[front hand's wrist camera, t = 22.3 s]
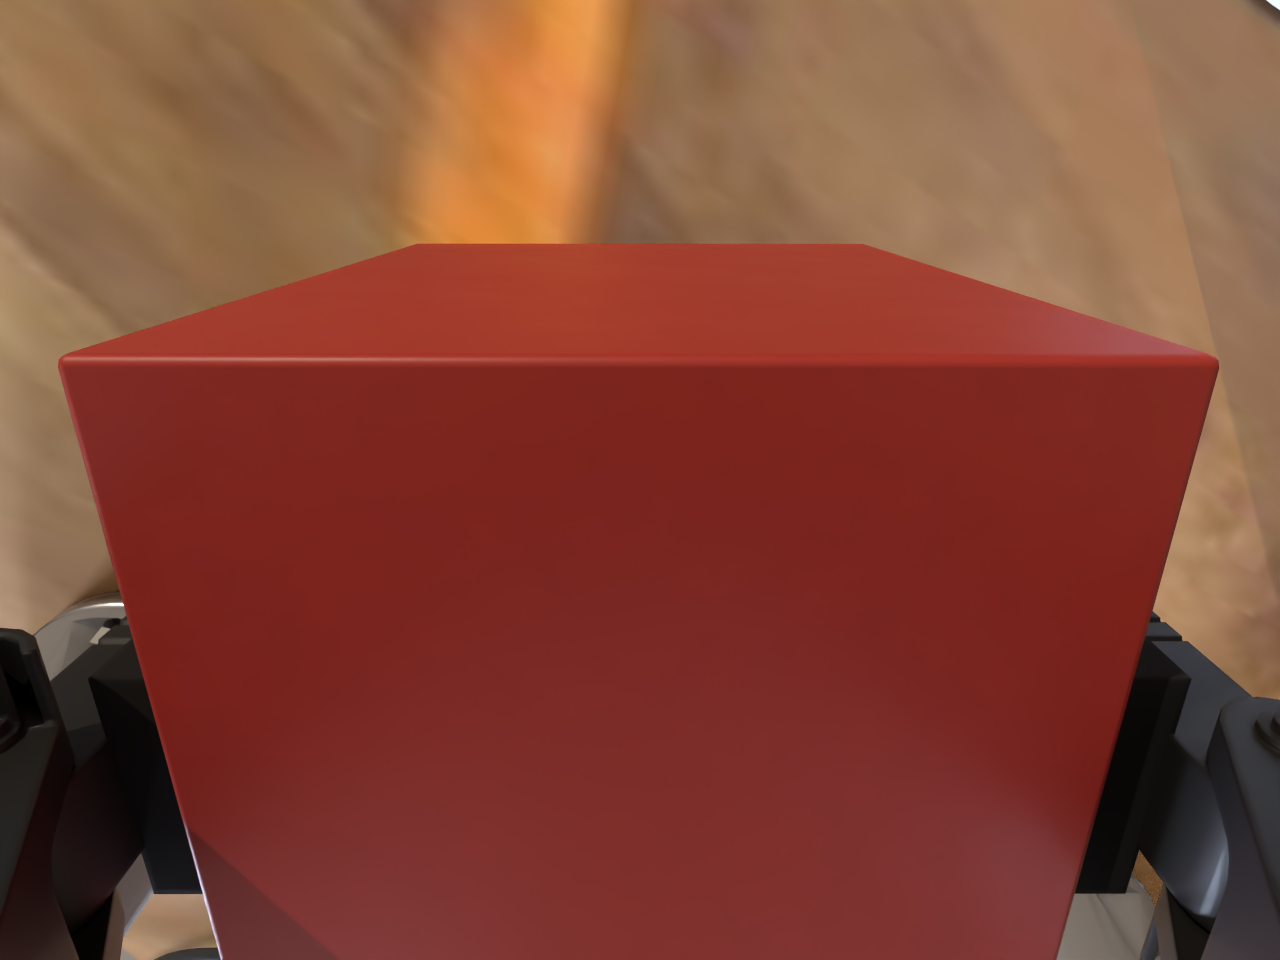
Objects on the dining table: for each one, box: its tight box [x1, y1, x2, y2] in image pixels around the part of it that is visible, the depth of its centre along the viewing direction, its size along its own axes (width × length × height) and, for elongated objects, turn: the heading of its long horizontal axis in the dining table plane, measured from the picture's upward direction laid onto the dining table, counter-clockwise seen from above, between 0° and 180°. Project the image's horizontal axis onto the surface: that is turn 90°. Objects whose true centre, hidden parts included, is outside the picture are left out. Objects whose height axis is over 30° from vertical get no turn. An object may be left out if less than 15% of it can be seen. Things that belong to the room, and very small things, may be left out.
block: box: [58, 244, 1219, 960], centre depth 12 cm, size 9×9×10 cm
